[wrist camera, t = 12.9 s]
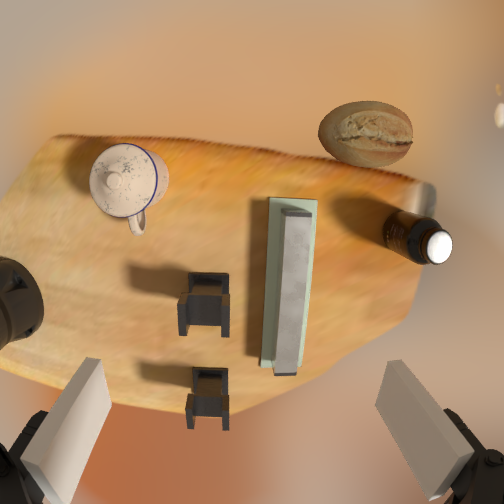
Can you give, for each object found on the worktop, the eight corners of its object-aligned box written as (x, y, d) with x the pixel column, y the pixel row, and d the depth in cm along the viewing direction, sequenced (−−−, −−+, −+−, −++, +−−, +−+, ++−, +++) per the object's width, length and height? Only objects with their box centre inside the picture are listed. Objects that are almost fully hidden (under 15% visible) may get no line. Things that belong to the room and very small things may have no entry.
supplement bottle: (415, 207, 47) (458, 218, 36) (416, 247, 49) (458, 267, 37) (379, 212, 47) (419, 225, 35) (382, 254, 49) (420, 277, 37)
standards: (193, 393, 53) (187, 432, 43) (188, 272, 48) (176, 297, 38) (229, 394, 53) (229, 433, 43) (230, 273, 48) (229, 299, 38)
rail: (271, 360, 52) (274, 376, 47) (281, 208, 46) (286, 211, 41) (291, 360, 52) (296, 375, 47) (304, 209, 46) (312, 212, 42)
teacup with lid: (109, 155, 43) (74, 151, 31) (166, 142, 43) (145, 132, 32) (121, 233, 46) (90, 251, 34) (178, 223, 46) (161, 239, 34)
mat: (260, 366, 52) (260, 367, 52) (269, 197, 46) (269, 197, 45) (300, 365, 53) (301, 366, 52) (316, 199, 46) (317, 200, 46)
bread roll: (407, 163, 45) (434, 162, 38) (321, 172, 45) (338, 173, 38) (397, 105, 43) (423, 96, 35) (310, 109, 43) (324, 97, 35)
